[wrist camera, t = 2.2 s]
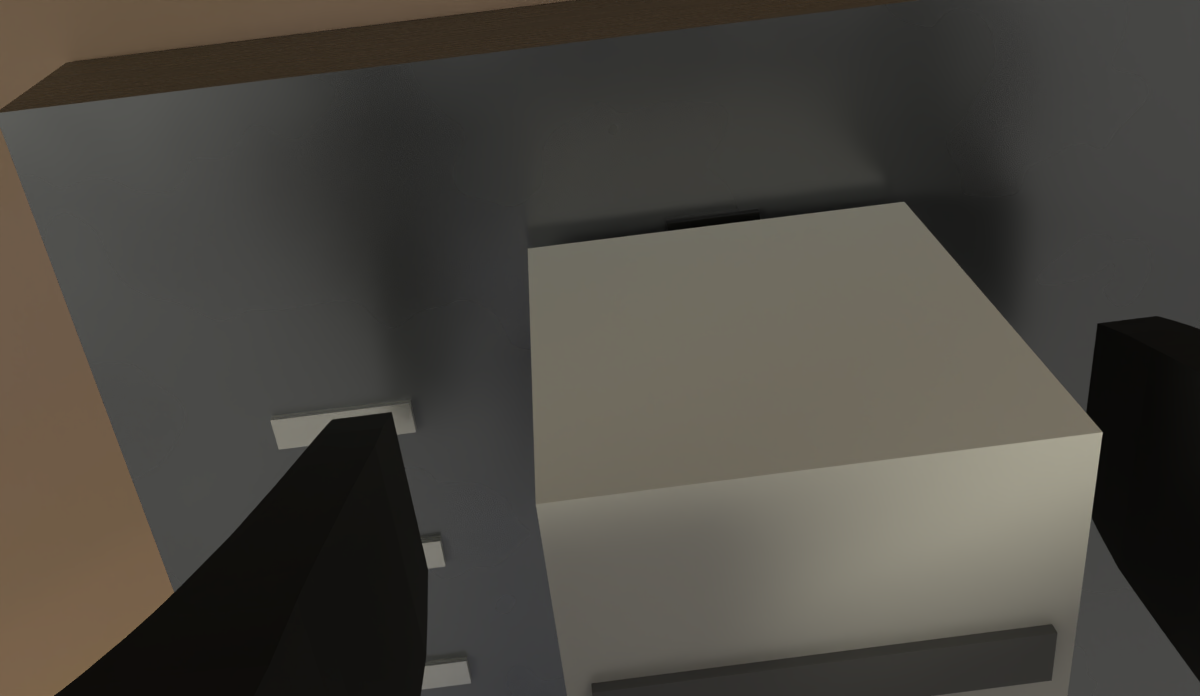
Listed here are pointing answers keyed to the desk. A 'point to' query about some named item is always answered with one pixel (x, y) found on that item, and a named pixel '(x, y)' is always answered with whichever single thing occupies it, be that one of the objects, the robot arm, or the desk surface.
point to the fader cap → (801, 467)
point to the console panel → (577, 238)
